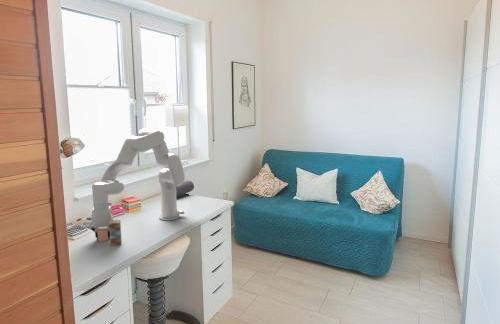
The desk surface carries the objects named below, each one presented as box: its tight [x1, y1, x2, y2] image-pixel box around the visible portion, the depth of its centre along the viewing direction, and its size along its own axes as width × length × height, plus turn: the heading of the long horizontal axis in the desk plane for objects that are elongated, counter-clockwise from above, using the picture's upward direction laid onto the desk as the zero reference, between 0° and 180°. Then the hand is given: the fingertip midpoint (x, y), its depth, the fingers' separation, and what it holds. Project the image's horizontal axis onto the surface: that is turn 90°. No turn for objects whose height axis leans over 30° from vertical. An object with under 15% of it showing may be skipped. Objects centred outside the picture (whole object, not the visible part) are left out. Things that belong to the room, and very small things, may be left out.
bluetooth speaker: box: [175, 180, 195, 198], centre depth 279 cm, size 23×9×10 cm, turn 149°
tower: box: [109, 219, 123, 247], centre depth 187 cm, size 5×5×12 cm
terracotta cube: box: [97, 227, 109, 242], centre depth 194 cm, size 5×5×6 cm
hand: (103, 237), depth 194 cm, fingers closed on terracotta cube, 5 cm apart
